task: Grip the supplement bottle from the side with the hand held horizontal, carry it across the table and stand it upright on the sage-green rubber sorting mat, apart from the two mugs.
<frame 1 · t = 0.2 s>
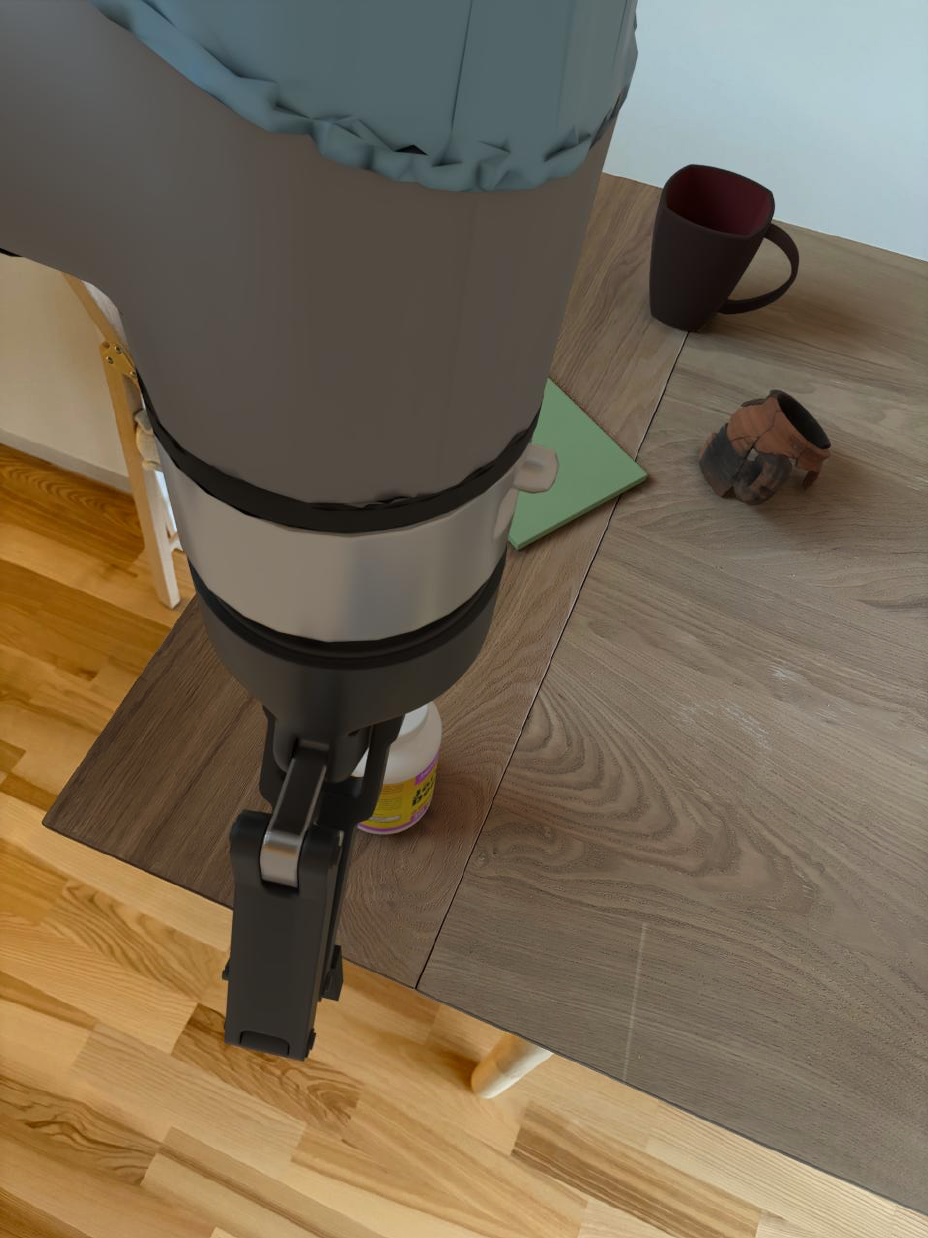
hand: (352, 817, 40), 21 cm above the table, tool pointing down, fingers open, 13 cm apart
green mat: (524, 452, 81), on the table
pottery mug: (751, 482, 82), on the table
mug: (699, 318, 93), on the table
supplement bottle: (383, 791, 63), on the table
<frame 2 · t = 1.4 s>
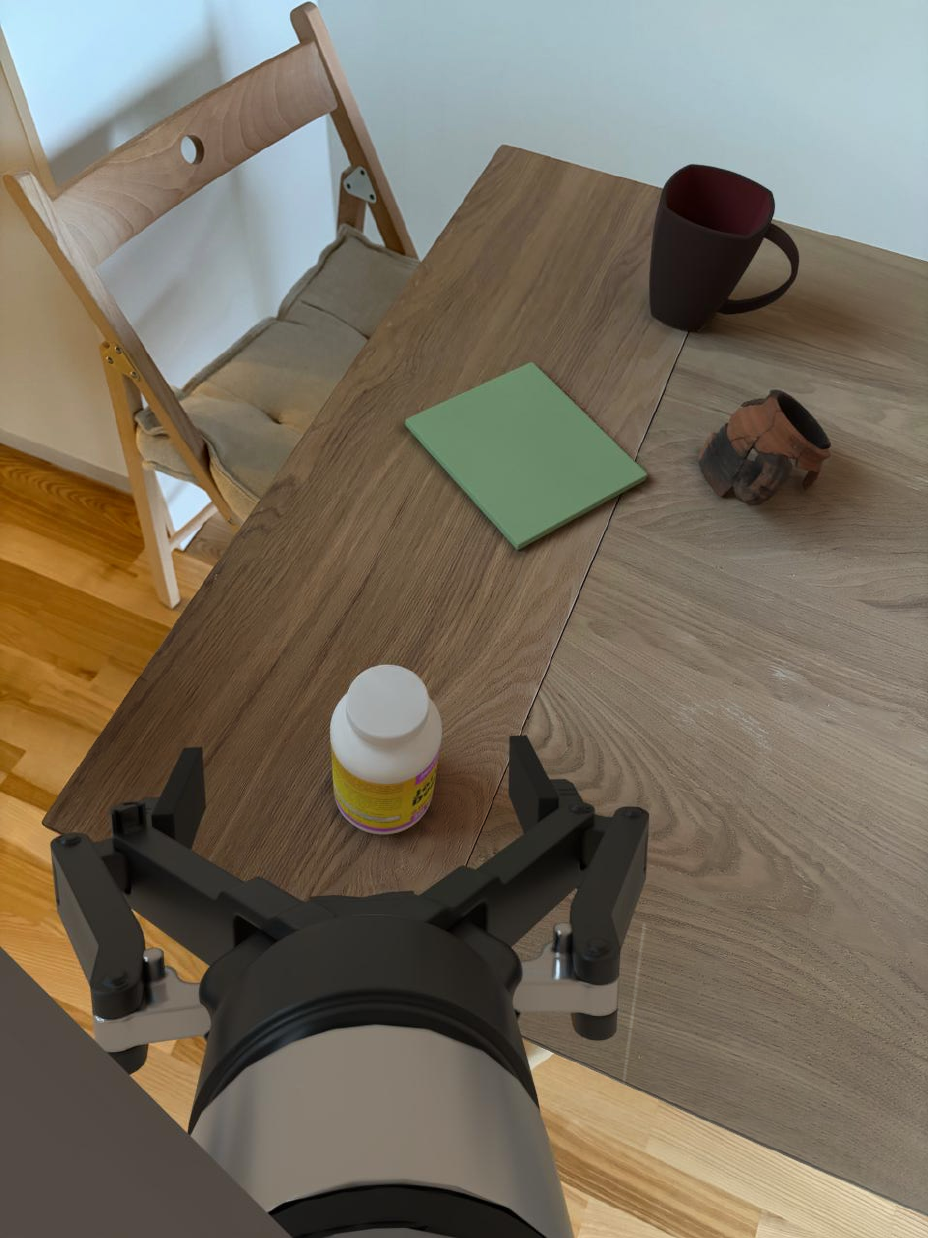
hand: (359, 770, 40), 22 cm above the table, tool tilted 45°, fingers open, 13 cm apart
nothing on the table moved.
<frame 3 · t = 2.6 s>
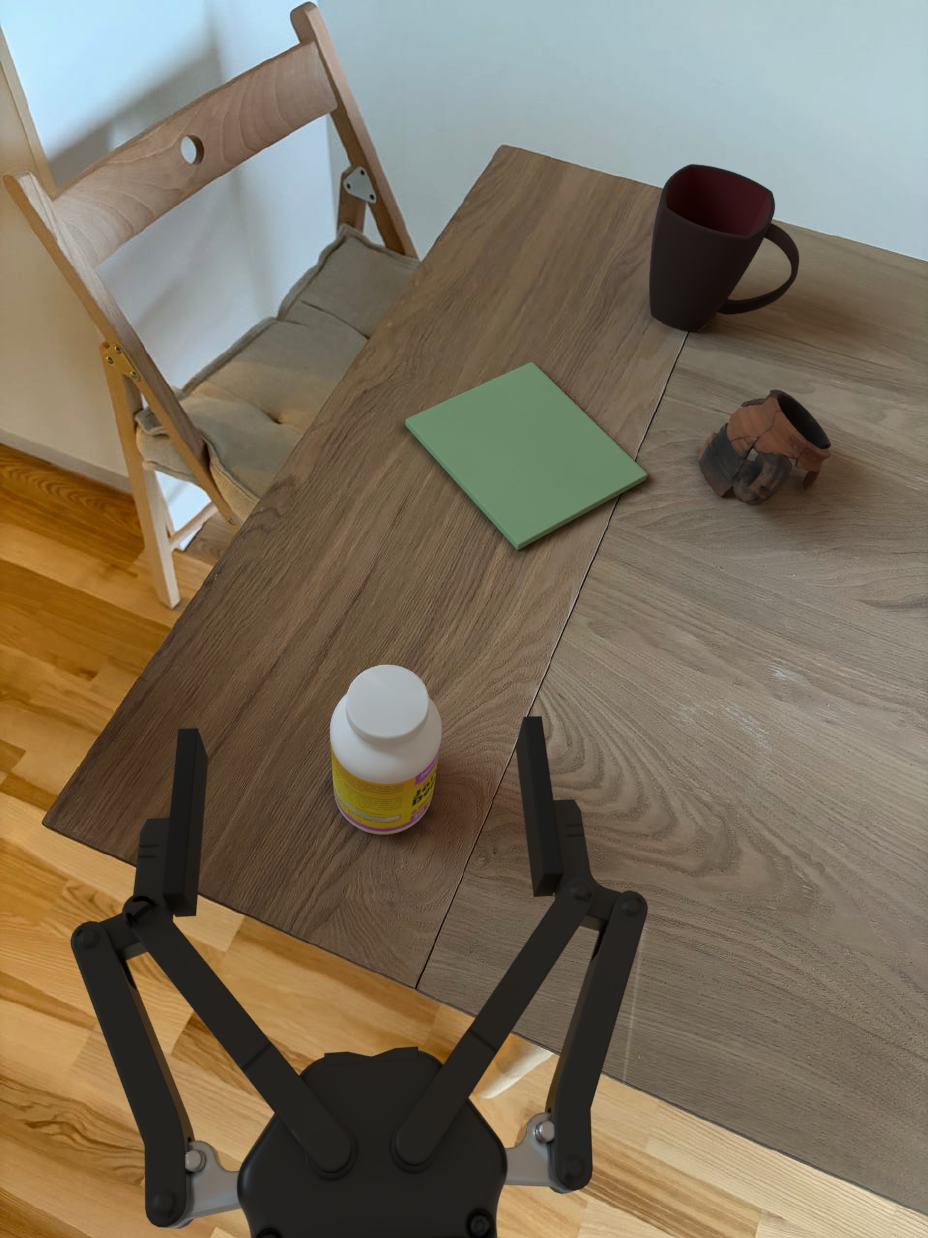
hand: (364, 736, 39), 24 cm above the table, tool horizontal, fingers open, 13 cm apart
nothing on the table moved.
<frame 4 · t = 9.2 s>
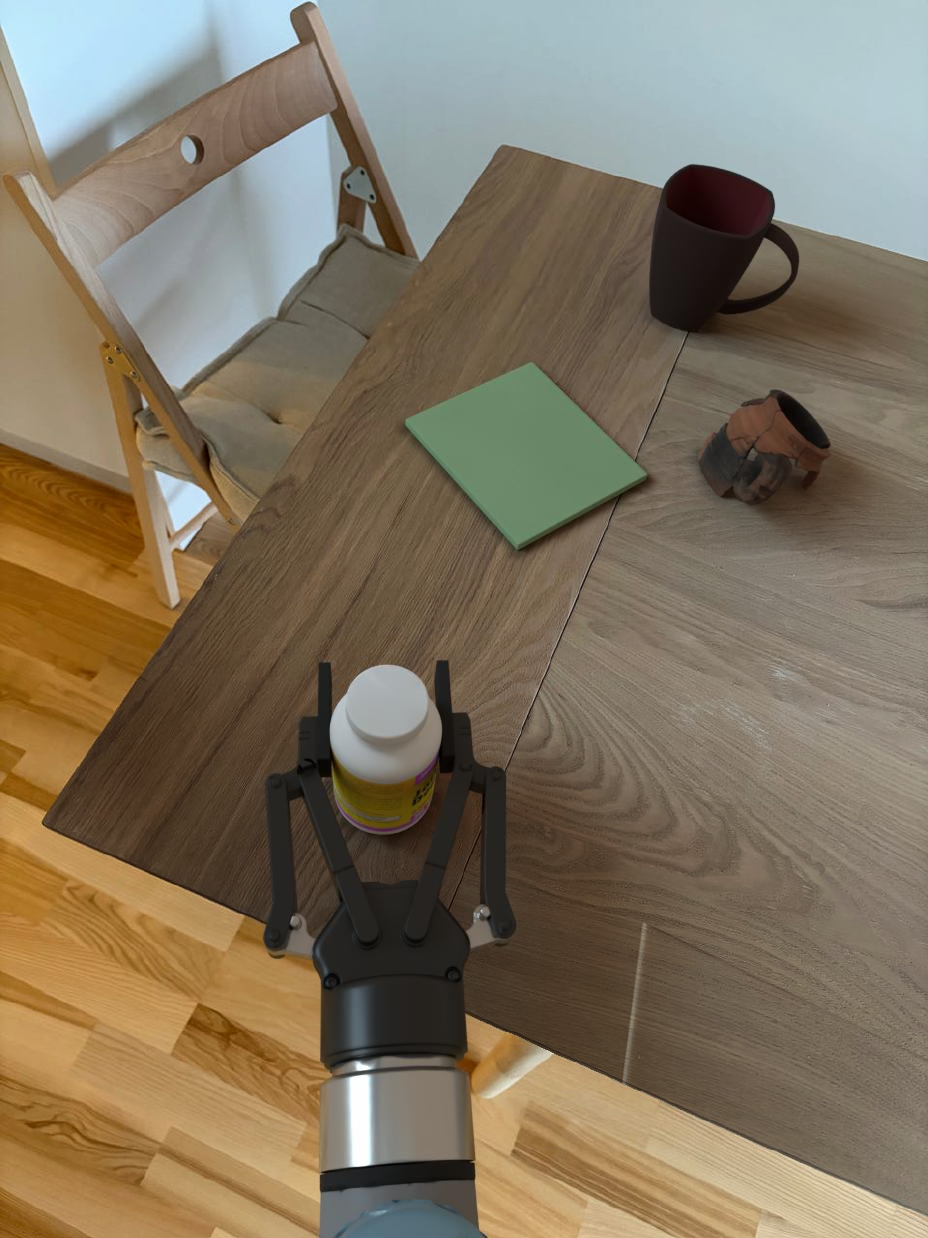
hand: (383, 672, 60), 7 cm above the table, tool horizontal, fingers closed on supplement bottle, 7 cm apart
supplement bottle: (383, 791, 63), on the table, touching gripper
everything else where it was.
when the fingers open (8 cm above the table, at t = 18.5 s): supplement bottle stays where it is, resting on green mat.
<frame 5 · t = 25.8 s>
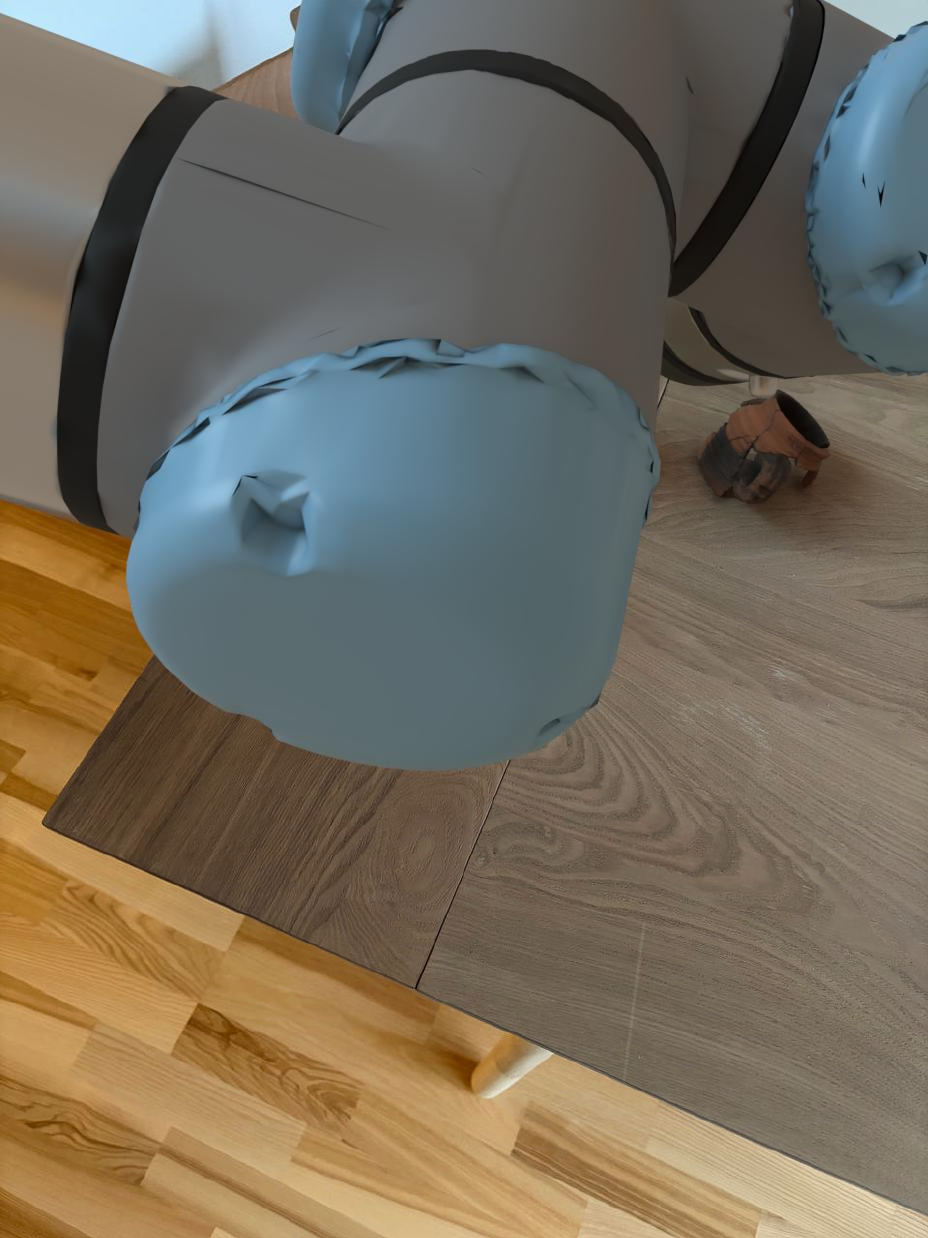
hand: (596, 329, 56), 23 cm above the table, tool tilted 45°, fingers open, 13 cm apart
supplement bottle: (525, 447, 80), point 1 cm above the table, touching green mat
everything else where it was.
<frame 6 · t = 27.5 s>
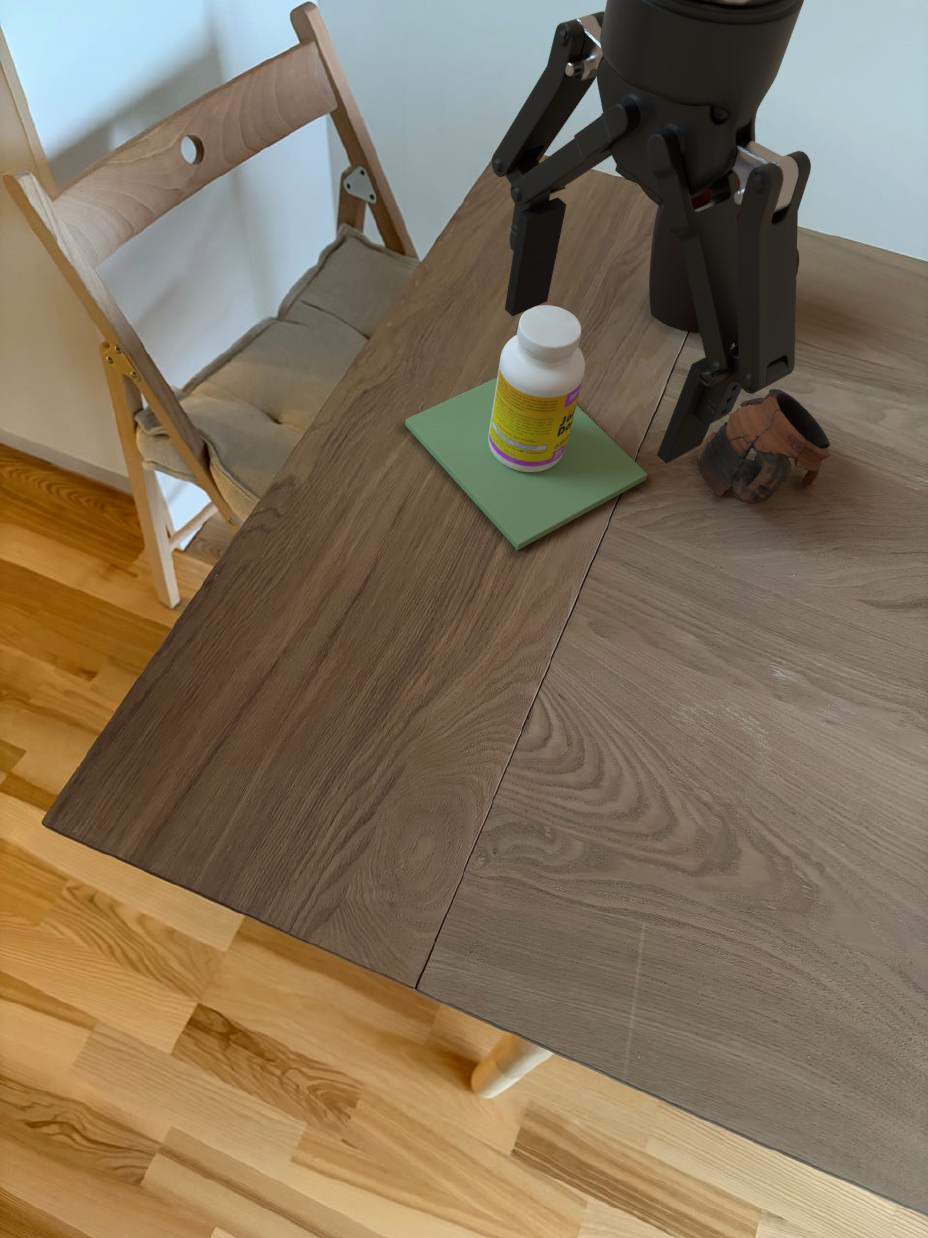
hand: (598, 374, 54), 23 cm above the table, tool pointing down, fingers open, 13 cm apart
nothing on the table moved.
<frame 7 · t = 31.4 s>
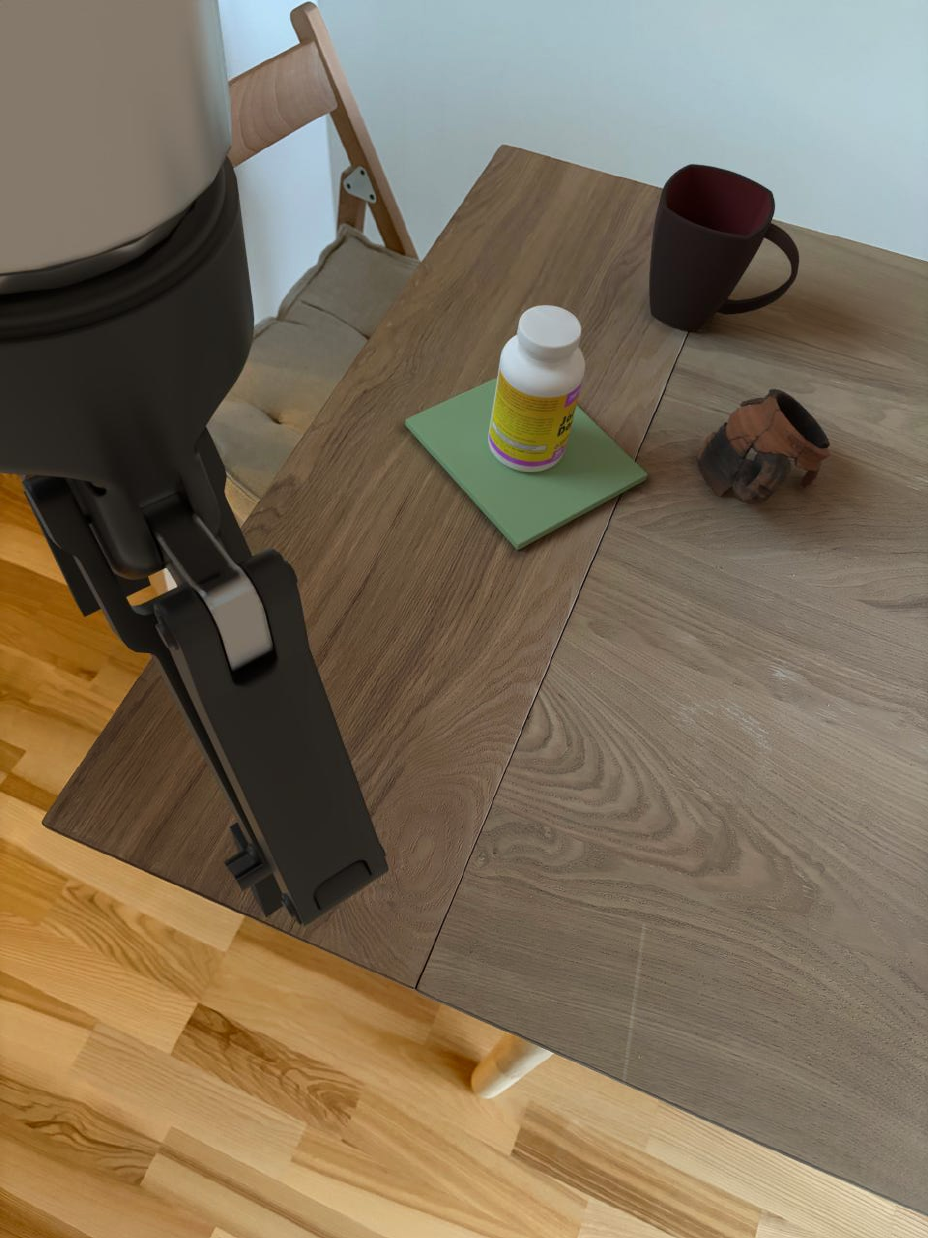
hand: (198, 728, 33), 29 cm above the table, tool pointing down, fingers open, 13 cm apart
nothing on the table moved.
at the end: supplement bottle inside the target area on the green mat (0.0 cm from its centre), point 0.6 cm above the green mat's base; supplement bottle tilted 0°; the gripper is holding nothing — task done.
